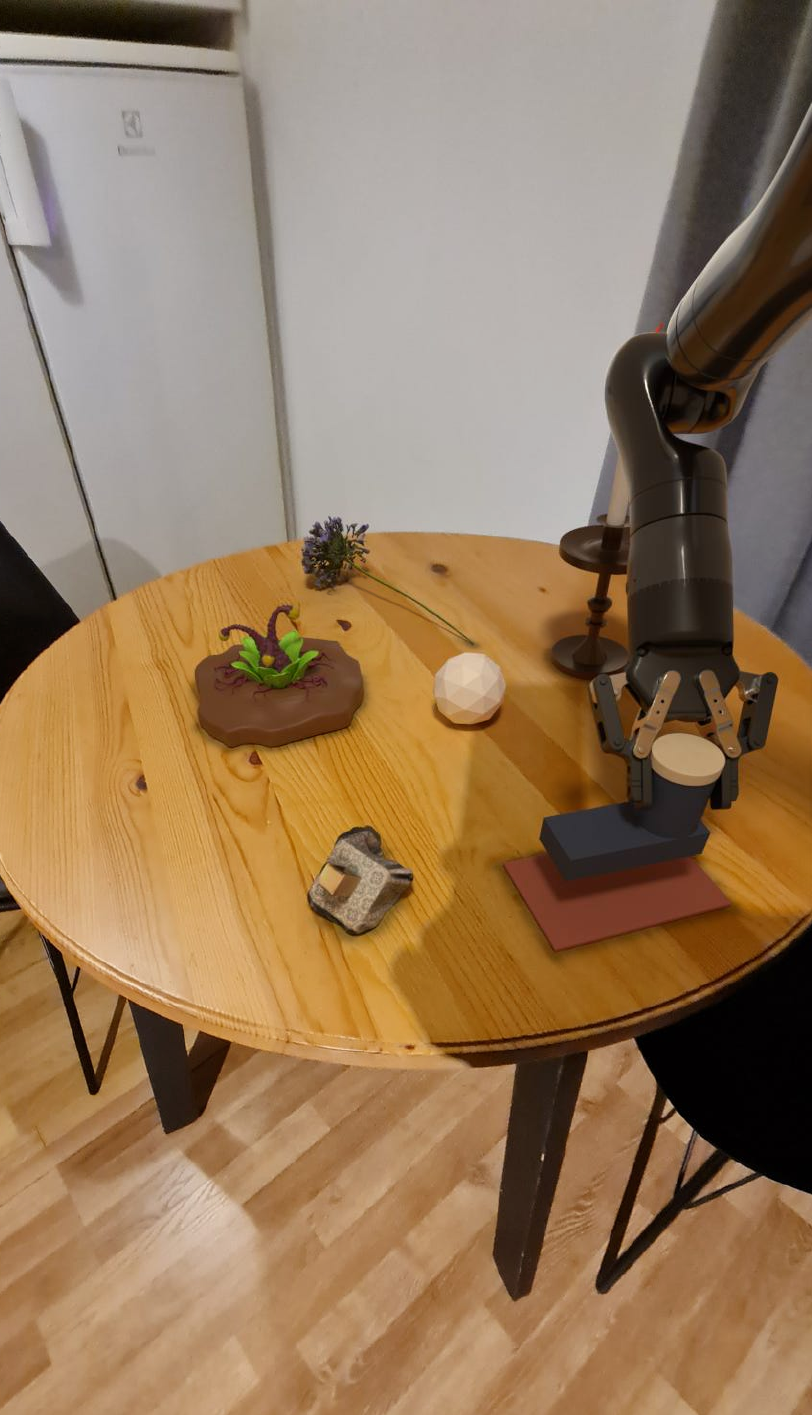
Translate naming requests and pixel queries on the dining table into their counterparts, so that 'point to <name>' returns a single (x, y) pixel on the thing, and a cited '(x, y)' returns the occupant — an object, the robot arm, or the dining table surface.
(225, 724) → the plant
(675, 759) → the bootie
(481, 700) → the geometric ball
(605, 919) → the mat
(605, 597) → the candlestick
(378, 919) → the grey patterned crumpled piece
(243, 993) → the dining table surface
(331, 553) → the flower
